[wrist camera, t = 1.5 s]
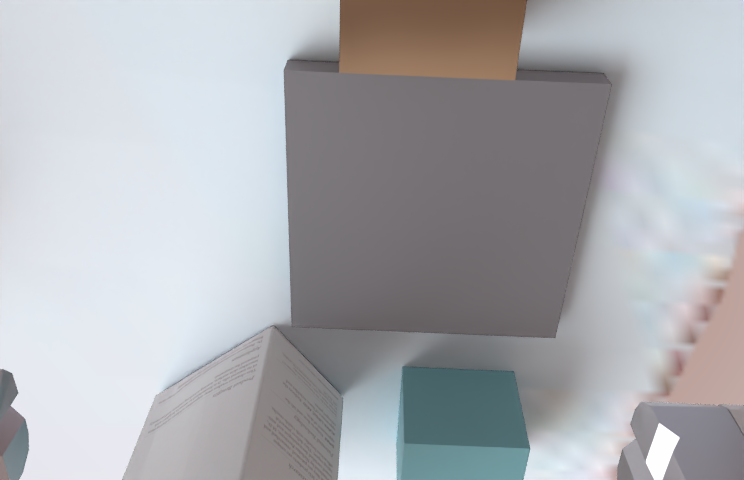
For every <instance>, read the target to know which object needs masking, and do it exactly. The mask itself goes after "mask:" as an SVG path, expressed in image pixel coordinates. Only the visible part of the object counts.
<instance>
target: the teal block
mask: <svg viewBox="0 0 744 480" xmlns="http://www.w3.org/2000/svg"><path fill="white" fill-rule="evenodd" d="M396 449H397V480H523V479H524V474H525V470H526V465H527V461H528V456H529V452H530V445H529V441H528V436H527V431H526V427H525V422H524V417H523V413H522V408H521V403H520V399H519V394H518V389H517V385H516V380H515V375H514V371H493V370H470V369H446V368H422V367H402V380H401V392H400V405H399V418H398V430H397V443H396Z"/></svg>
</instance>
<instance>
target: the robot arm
mask: <svg viewBox="0 0 744 480" xmlns="http://www.w3.org/2000/svg"><path fill="white" fill-rule="evenodd" d="M17 394H18V390H17V387H16V384H15V381H14V378H13V375H12V373H10V372H8V371H6V370H4V369H0V480H19V479H20V477H21V475H22V473H23V470H24V466H25V462H26V458H27V454H28V451H29V436H28V429H27V425H26V421H25V418H24V417H22V416H21V415H20V414H19V413H18V412H17V411H16V410H15V409H14V408H12V407H11V406H10V405H11V404H12V402H13V400H14V399H15V397H16V396H17ZM631 427H632V429H633V432H634V434H635V437H636V439H635V440H633V441H632V442H631V443H629V444H628V445H627V446H626V447H624V448H623V449H622V453H621V456H620V460H619V464H618V468H617V480H744V405H724V404H720V405H710V404H687V403H664V402H641V403H640V404H639V405H638V407H637V408H636V409H635V412H634V415H633V418H632V421H631Z"/></svg>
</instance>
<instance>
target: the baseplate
mask: <svg viewBox="0 0 744 480" xmlns="http://www.w3.org/2000/svg"><path fill="white" fill-rule="evenodd" d="M611 86H612V84H611V82H610V81H609V80H608V79H607V77H606V76H605V75H604V73H584V72H560V71H536V70H517V71H516V77H515V80H494V79H471V78H448V77H425V76H402V75H379V74H357V73H339V62H323V61H299V60H288V61H287V63H286V66H285V69H284V93H285V126H286V158H287V190H288V222H289V254H290V286H291V318H292V327H305V328H329V329H353V330H377V331H401V332H424V333H448V334H472V335H496V336H520V337H543V338H555V337H556V332H557V328H558V323H559V319H560V314H561V310H562V305H563V301H564V296H565V292H566V287H567V283H568V279H569V274H570V270H571V265H572V261H573V256H574V252H575V247H576V243H577V238H578V234H579V229H580V225H581V220H582V216H583V211H584V207H585V202H586V198H587V193H588V189H589V184H590V180H591V176H592V171H593V167H594V162H595V158H596V153H597V149H598V144H599V140H600V135H601V131H602V126H603V122H604V117H605V113H606V108H607V104H608V99H609V95H610V90H611Z"/></svg>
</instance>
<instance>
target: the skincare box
mask: <svg viewBox="0 0 744 480" xmlns="http://www.w3.org/2000/svg"><path fill="white" fill-rule="evenodd" d="M342 409H343V398H342V396H341V395H340V394H339V393H338V392H337V390H336V389H335V388H334V387H333V386H332V385H331V384H330V383H329V382H328V381H327V380H326V379H325V378H324V377H323V376H322V375H321V374H320V373H319V372H318V371H317V370H316V369H315V368H314V367H313V365H312V364H311V363H310V362H309V361H308V360H307V359H306V358H305V357H304V356H303V355H302V354H301V353H300V352H299V351H298V350H297V349H296V348H295V347H294V346H293V345H292V344H291V343H290V342H289V341H288V340H287V339H286V338H285V336H284V335H283V334H282V333H281V332H280V331H279V330H278V329H277V328H276V327H274V326H271V327H269V328H267V329H266V330H264V331H262V332H261V333H259V334H257V335H256V336H254V337H252V338H251V339H249V340H247V341H246V342H244V343H242V344H241V345H239V346H237V347H235V348H234V349H232V350H230V351H229V352H227V353H225V354H224V355H222V356H220V357H219V358H217V359H215V360H214V361H212V362H211V363H209V364H207V365H206V366H204V367H202V368H201V369H199V370H197V371H196V372H194V373H192V374H191V375H189V376H187V377H186V378H184V379H183V380H181V381H180V382H178V383H177V384H175V385H174V386H172V387H170V388H168V389H167V390H165V391H163V392H161V393H159V394H157V395H156V396H155V398H154V401H153V404H152V406H151V408H150V411H149V413H148V416H147V418H146V421H145V423H144V426H143V428H142V431H141V433H140V436H139V439H138V441H137V443H136V446H135V448H134V451H133V454H132V456H131V458H130V461H129V463H128V466H127V468H126V471H125V473H124V476H123V478H122V480H337V479H338V466H339V451H340V438H341V424H342Z"/></svg>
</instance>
